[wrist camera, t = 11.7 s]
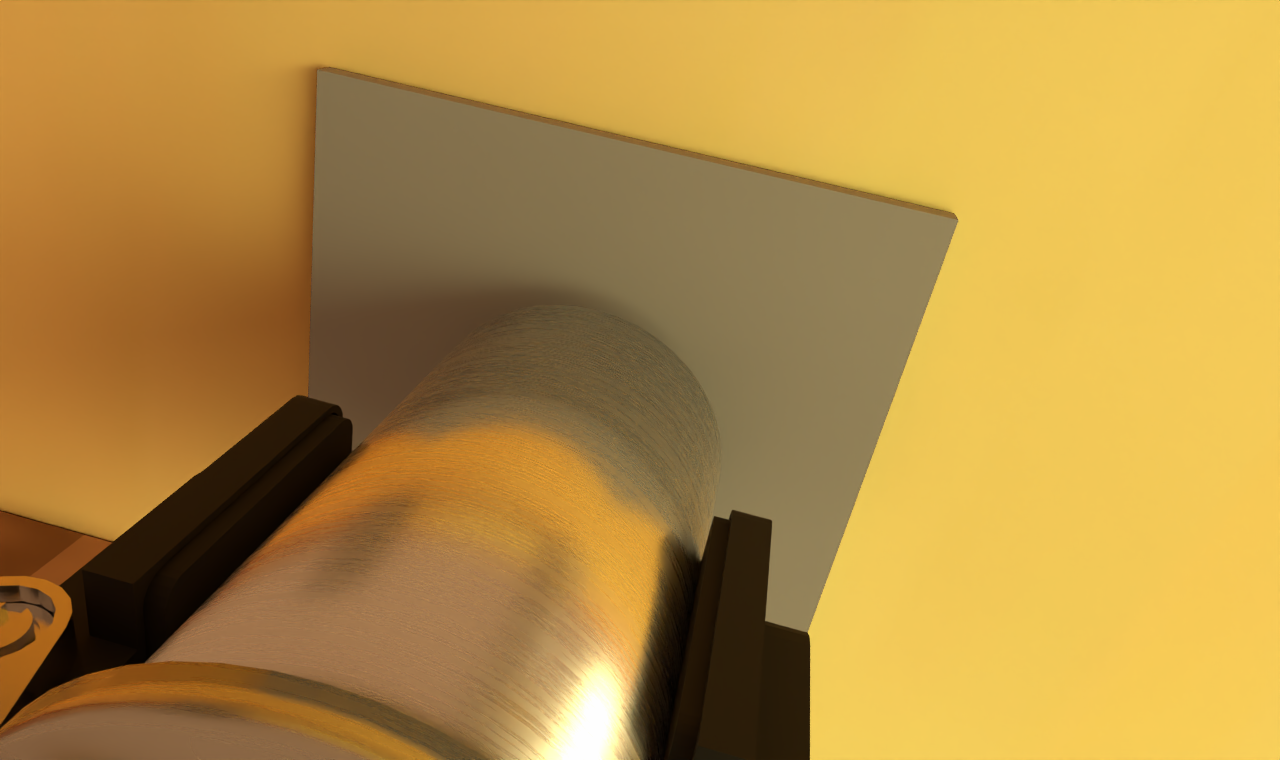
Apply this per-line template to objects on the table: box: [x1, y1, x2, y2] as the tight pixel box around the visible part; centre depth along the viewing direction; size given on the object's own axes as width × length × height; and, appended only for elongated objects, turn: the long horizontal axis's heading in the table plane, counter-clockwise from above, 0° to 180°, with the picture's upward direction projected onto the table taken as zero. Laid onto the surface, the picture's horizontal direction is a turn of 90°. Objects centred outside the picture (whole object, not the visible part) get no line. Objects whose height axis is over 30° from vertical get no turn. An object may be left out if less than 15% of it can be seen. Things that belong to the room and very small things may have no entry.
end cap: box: [0, 305, 722, 760], centre depth 10 cm, size 6×6×9 cm
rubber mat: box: [308, 67, 958, 632], centre depth 16 cm, size 10×10×1 cm
